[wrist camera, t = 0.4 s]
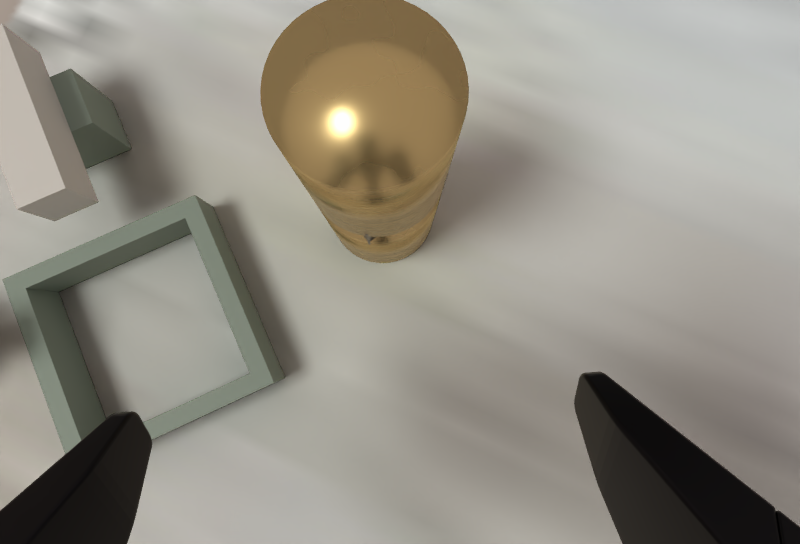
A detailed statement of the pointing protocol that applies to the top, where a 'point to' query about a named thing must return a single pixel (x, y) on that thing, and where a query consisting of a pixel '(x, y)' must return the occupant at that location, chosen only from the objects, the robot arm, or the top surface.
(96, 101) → the shaft bench
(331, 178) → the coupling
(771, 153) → the top surface
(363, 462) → the top surface
